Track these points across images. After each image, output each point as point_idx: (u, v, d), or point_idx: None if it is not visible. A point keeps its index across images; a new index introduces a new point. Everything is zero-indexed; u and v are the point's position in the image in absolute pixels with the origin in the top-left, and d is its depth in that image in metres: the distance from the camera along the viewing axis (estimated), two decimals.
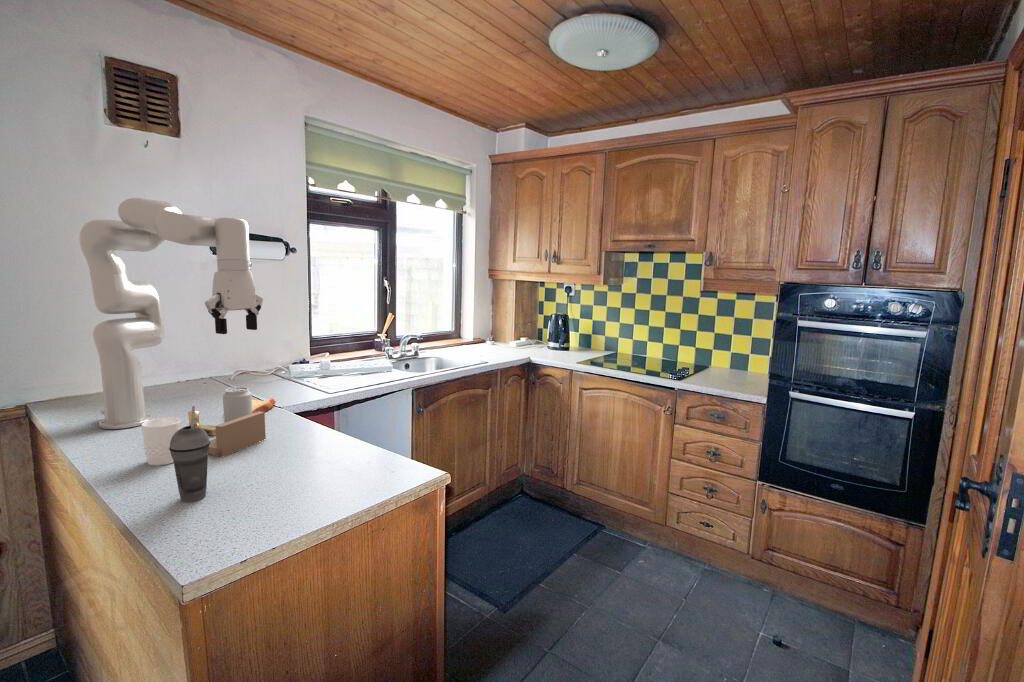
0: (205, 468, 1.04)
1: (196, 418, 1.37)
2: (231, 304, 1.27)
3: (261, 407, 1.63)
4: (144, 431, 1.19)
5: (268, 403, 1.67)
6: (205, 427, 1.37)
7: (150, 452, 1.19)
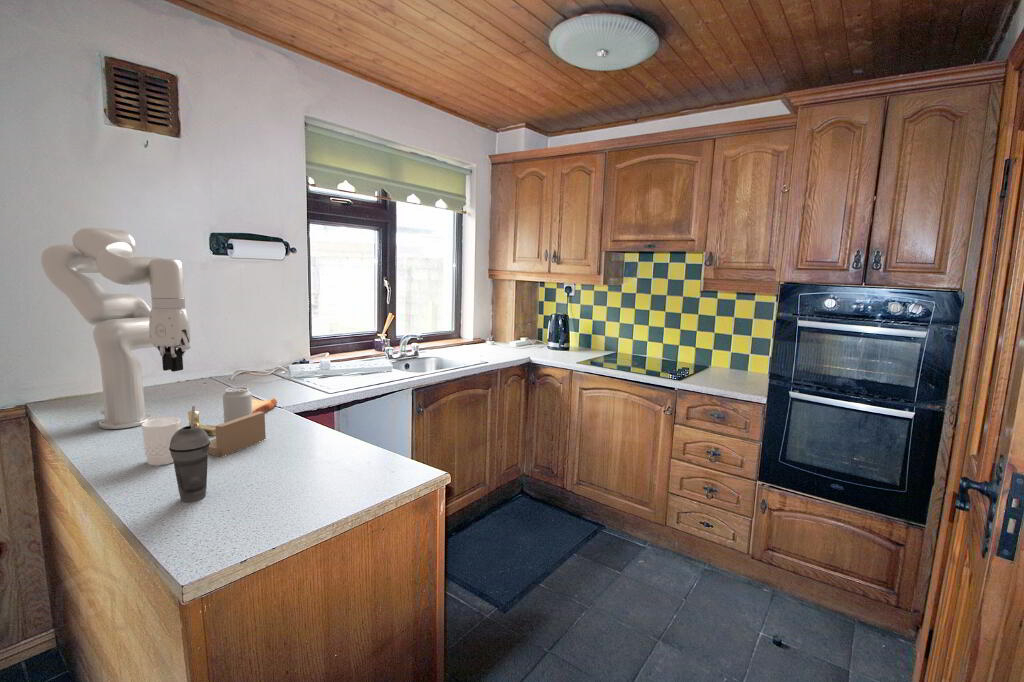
0: (205, 468, 1.04)
1: (196, 418, 1.37)
2: None
3: (262, 407, 1.63)
4: (144, 431, 1.19)
5: (269, 403, 1.67)
6: (205, 427, 1.37)
7: (150, 452, 1.19)
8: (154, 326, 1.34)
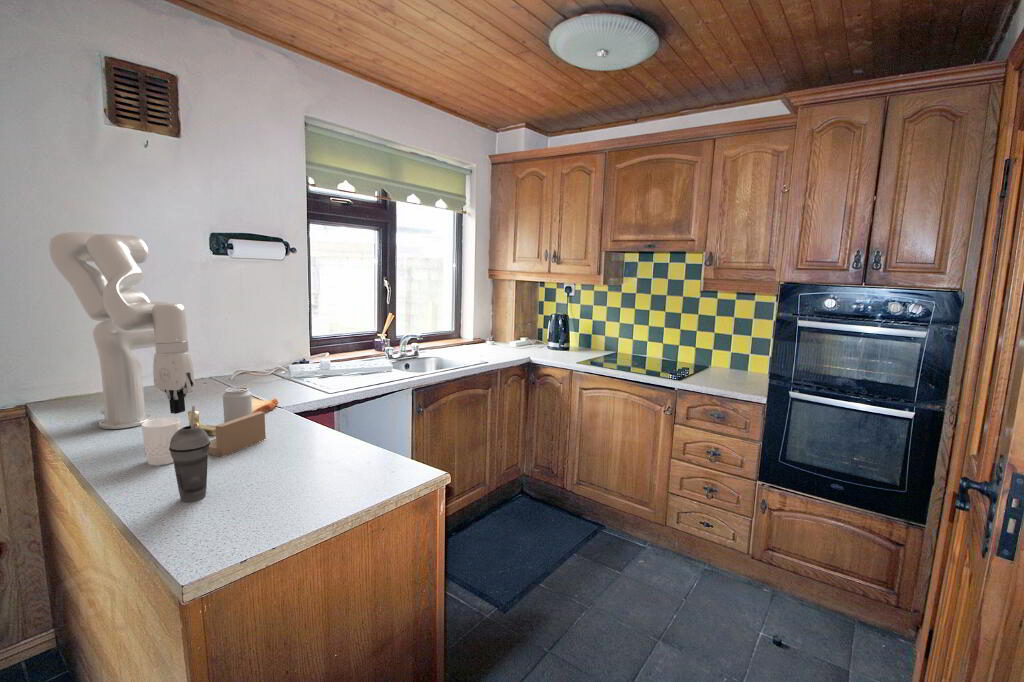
0: (205, 468, 1.04)
1: (196, 418, 1.37)
2: None
3: (263, 407, 1.63)
4: (144, 431, 1.19)
5: (270, 403, 1.67)
6: (205, 427, 1.37)
7: (150, 452, 1.19)
8: (158, 370, 1.36)
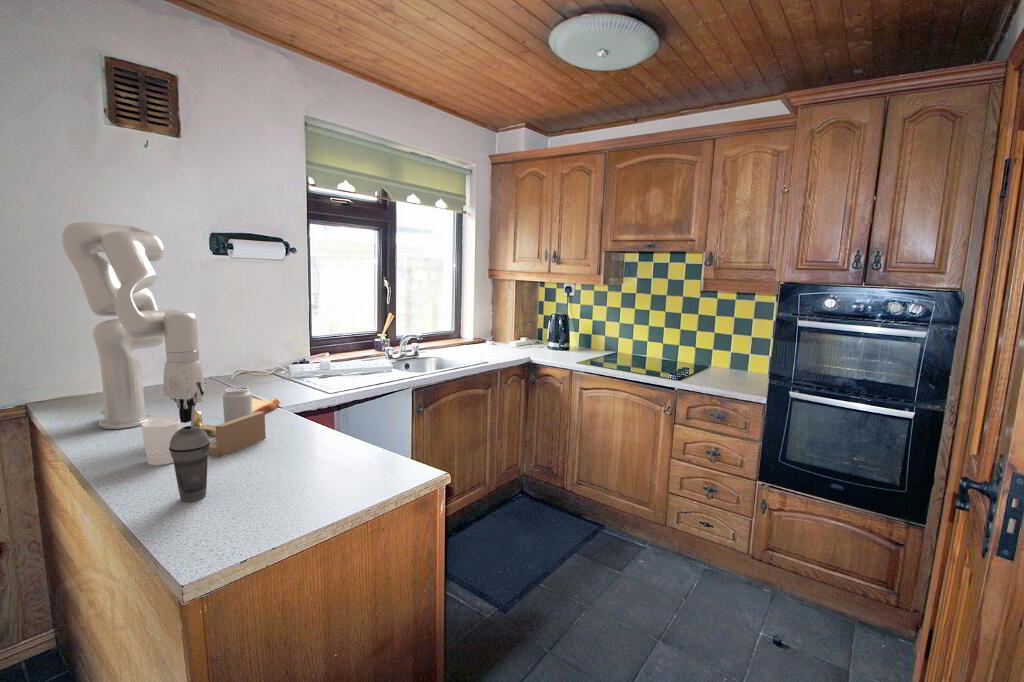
0: (205, 468, 1.04)
1: (199, 418, 1.37)
2: None
3: (264, 407, 1.62)
4: (144, 431, 1.19)
5: (271, 403, 1.67)
6: (208, 428, 1.36)
7: (150, 452, 1.19)
8: (169, 379, 1.35)
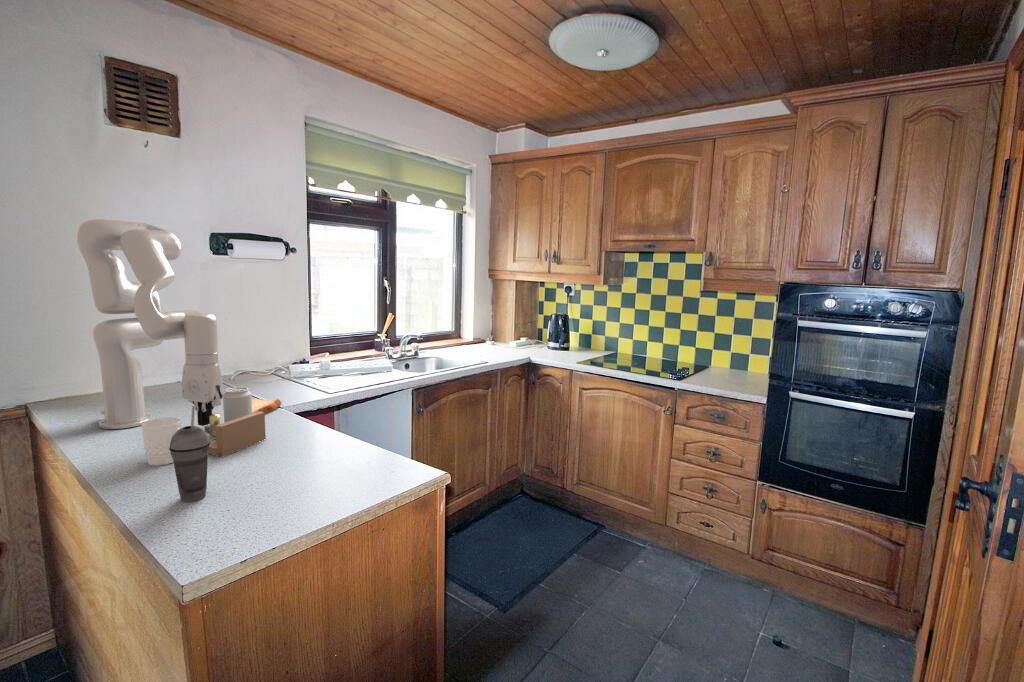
0: (205, 468, 1.04)
1: (217, 421, 1.35)
2: None
3: (265, 408, 1.62)
4: (144, 431, 1.19)
5: (272, 404, 1.67)
6: None
7: (150, 452, 1.19)
8: (187, 381, 1.33)
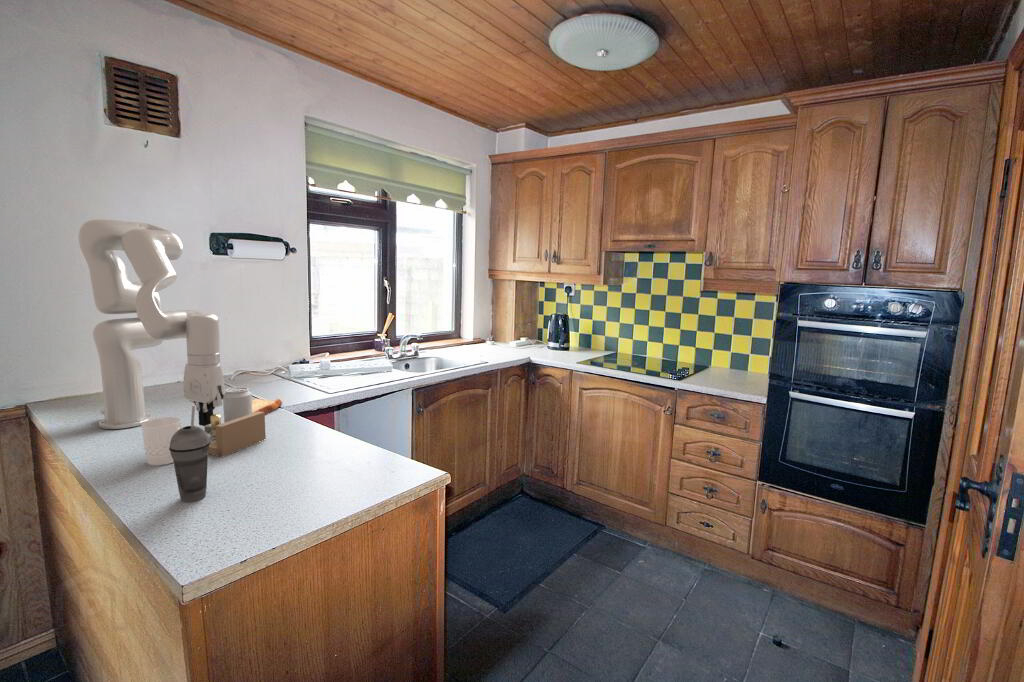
0: (205, 468, 1.04)
1: (218, 421, 1.35)
2: None
3: (265, 408, 1.62)
4: (144, 431, 1.19)
5: (273, 404, 1.66)
6: None
7: (150, 452, 1.19)
8: (189, 381, 1.33)
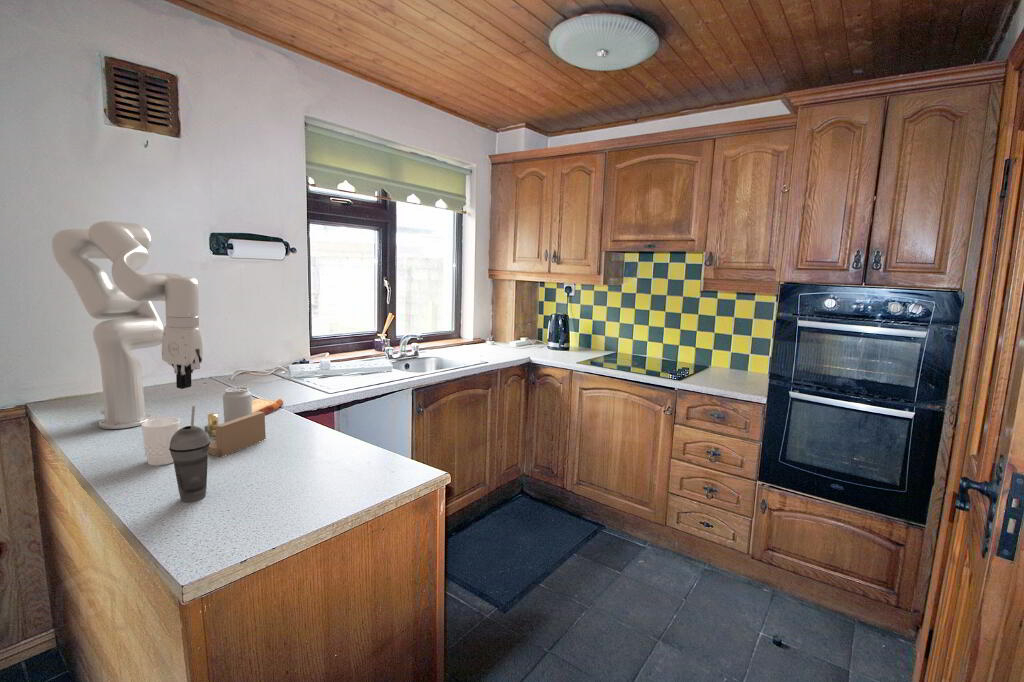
0: (205, 468, 1.04)
1: (215, 421, 1.35)
2: None
3: (266, 408, 1.62)
4: (144, 431, 1.19)
5: (274, 404, 1.66)
6: None
7: (150, 452, 1.19)
8: (167, 344, 1.34)
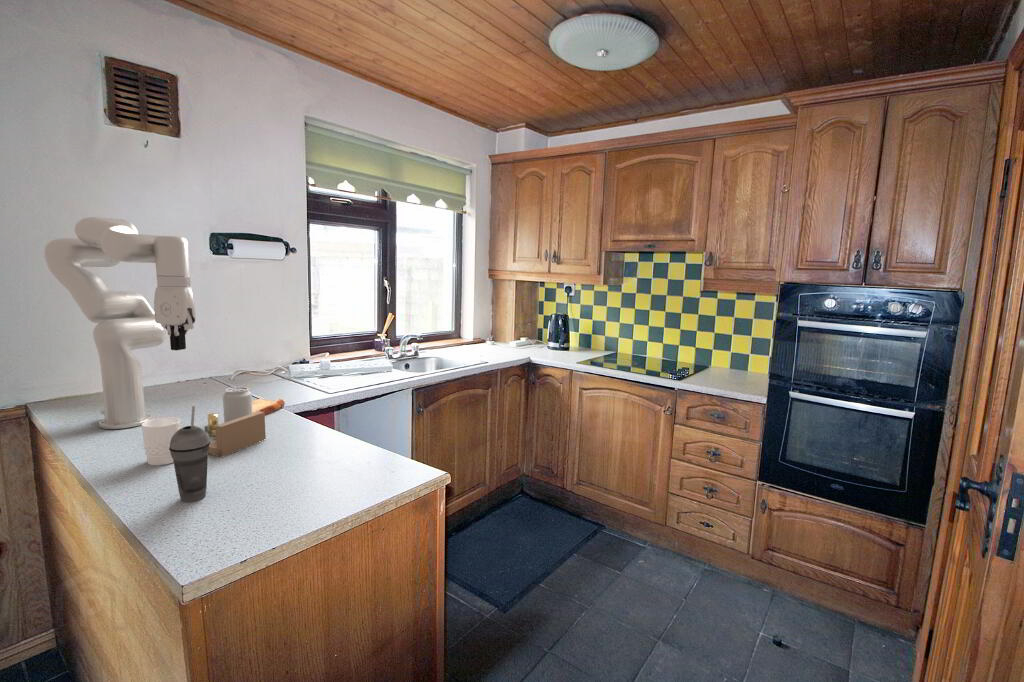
0: (205, 468, 1.04)
1: (215, 421, 1.35)
2: None
3: (267, 408, 1.62)
4: (144, 431, 1.19)
5: (275, 404, 1.66)
6: None
7: (150, 452, 1.19)
8: (159, 304, 1.33)
